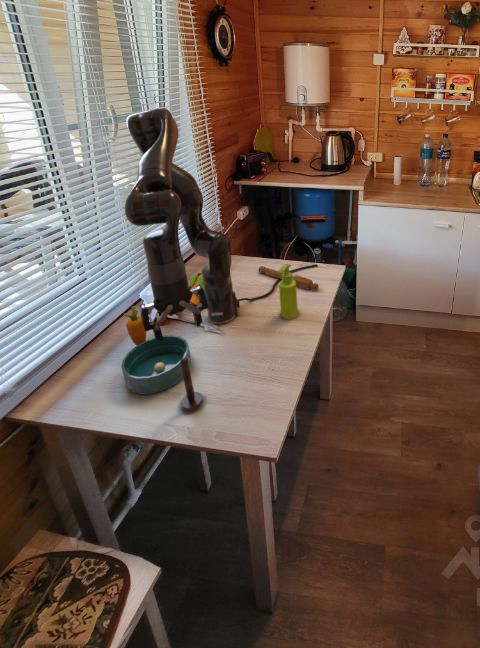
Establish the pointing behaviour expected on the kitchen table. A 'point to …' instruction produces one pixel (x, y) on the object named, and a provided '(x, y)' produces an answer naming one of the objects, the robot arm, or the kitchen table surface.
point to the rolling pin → (299, 280)
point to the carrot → (135, 327)
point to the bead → (159, 367)
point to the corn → (193, 283)
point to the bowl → (144, 359)
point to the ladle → (189, 390)
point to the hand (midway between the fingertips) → (180, 332)
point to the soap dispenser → (287, 294)
